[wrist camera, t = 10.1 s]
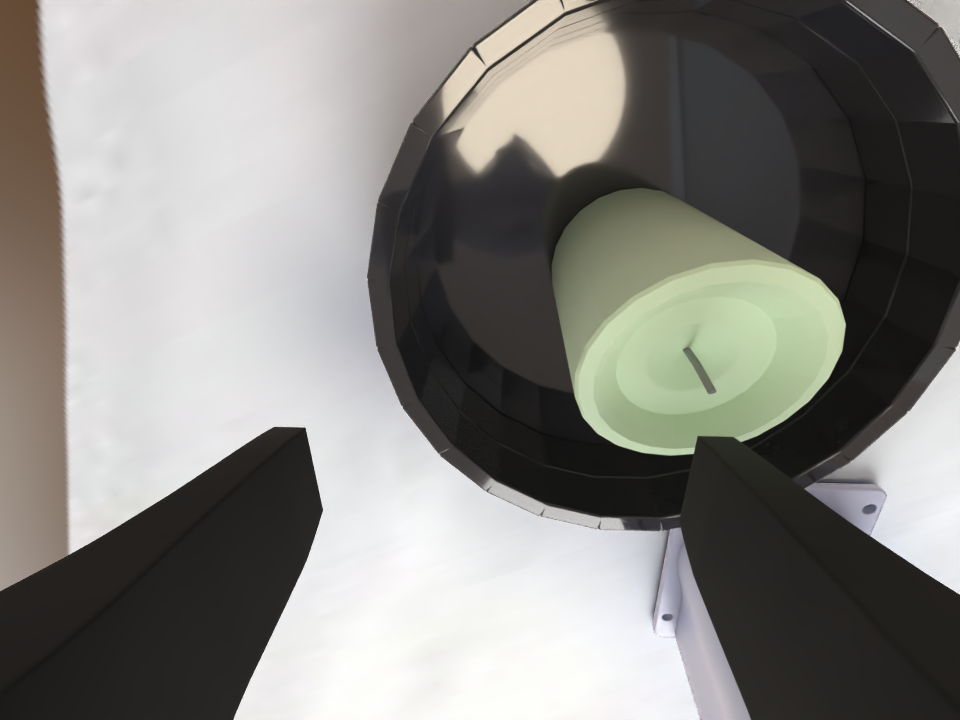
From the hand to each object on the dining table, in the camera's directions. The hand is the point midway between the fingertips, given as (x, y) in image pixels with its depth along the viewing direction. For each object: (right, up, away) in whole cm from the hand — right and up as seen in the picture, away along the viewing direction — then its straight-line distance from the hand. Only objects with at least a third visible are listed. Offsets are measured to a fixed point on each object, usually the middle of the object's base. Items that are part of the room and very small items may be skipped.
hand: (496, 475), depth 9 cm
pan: (+5, +5, +8) cm, 10 cm away
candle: (+4, +5, +7) cm, 10 cm away
